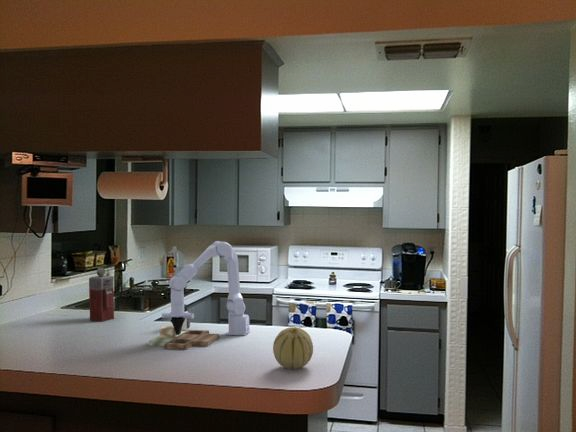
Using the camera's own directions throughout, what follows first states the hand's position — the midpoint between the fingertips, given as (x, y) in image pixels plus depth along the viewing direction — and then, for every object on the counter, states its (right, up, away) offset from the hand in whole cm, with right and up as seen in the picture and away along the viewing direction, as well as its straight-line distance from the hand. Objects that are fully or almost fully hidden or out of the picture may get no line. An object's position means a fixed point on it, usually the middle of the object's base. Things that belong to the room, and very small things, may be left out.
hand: (178, 334), depth 230 cm
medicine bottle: (-4, -3, +24) cm, 25 cm away
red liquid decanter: (-51, -4, +51) cm, 72 cm away
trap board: (+4, -3, -1) cm, 5 cm away
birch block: (-4, -1, +1) cm, 5 cm away
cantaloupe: (+51, -3, -43) cm, 67 cm away
